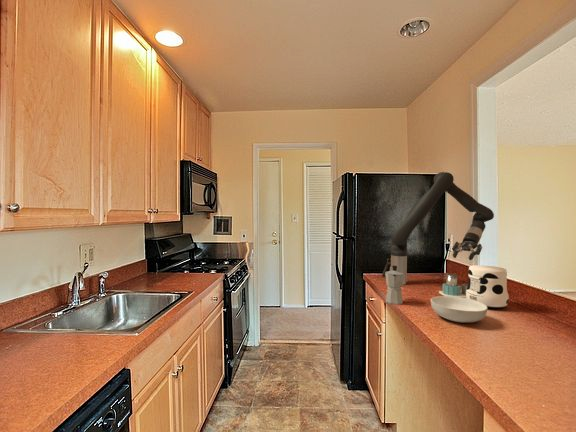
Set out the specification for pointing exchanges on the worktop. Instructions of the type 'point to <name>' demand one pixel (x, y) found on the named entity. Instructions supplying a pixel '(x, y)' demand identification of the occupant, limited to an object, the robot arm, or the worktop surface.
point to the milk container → (488, 286)
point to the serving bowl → (458, 308)
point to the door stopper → (386, 268)
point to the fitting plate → (454, 291)
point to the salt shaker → (451, 280)
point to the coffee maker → (394, 286)
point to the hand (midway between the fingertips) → (461, 258)
